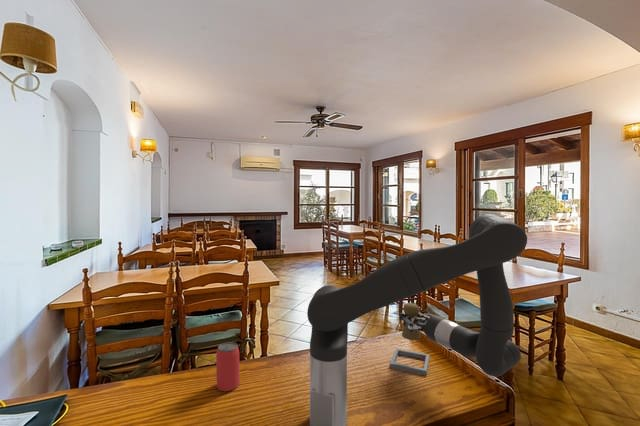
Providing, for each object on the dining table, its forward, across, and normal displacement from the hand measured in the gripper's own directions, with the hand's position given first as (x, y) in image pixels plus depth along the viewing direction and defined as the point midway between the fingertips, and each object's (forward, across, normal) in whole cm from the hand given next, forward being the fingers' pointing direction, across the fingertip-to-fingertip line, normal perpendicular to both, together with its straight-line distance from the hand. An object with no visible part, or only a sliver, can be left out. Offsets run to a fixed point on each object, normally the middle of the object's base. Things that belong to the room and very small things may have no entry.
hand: (405, 314), depth 108 cm
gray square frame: (-2, 0, +16) cm, 16 cm away
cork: (-3, 0, +7) cm, 7 cm away
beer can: (+12, +58, +16) cm, 61 cm away
